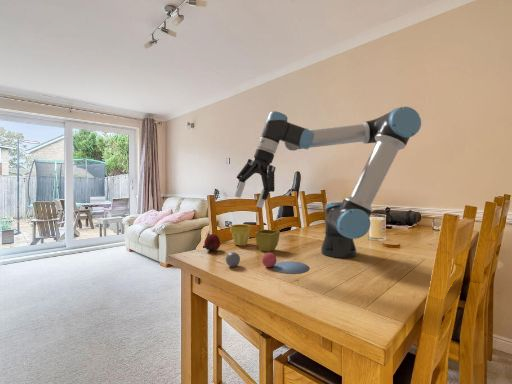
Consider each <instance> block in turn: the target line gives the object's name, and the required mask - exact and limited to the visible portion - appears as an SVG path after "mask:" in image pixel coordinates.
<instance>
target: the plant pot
mask: <svg viewBox="0 0 512 384" xmlns="http://www.w3.org/2000/svg"><path fill="white" fill-rule="evenodd" d="M229 229H230V233H231V236H232V240H233V244H235V245H234V246H236V245H239V246H240V247H243V246H244V247H245V246H247V245H248V242H249V236H250V233H251V225H249V224H243V223H242V224H239V223H237V224H232V225H230V227H229ZM239 246H238V247H239Z"/></svg>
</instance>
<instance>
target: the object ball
mask: <svg viewBox="0 0 512 384" xmlns="http://www.w3.org/2000/svg"><path fill="white" fill-rule="evenodd" d="M261 262H262V264H263V266H265V267H266V268H272V267H273V266H274V265H275V264H276V263H277V257H276V255H275V254H274V253H273V252H266V253H264V254H263V256H262V259H261Z"/></svg>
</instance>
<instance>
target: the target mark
mask: <svg viewBox="0 0 512 384" xmlns="http://www.w3.org/2000/svg"><path fill="white" fill-rule="evenodd" d="M271 268H272V270H274V271H275V272H278V273H280V274H281V273H282V274H289V275H291V274H293V275H294V274H295V275H296V274H297V275H298V274H303V273H306V272H308V271H309V269H310V267H309V265H308V264H305V263H304V262H300V261H294V260H286V261H284V260H281V261H278V262H277V261H276V264H275V265H274V266H273V267H271Z"/></svg>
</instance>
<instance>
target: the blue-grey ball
mask: <svg viewBox="0 0 512 384" xmlns="http://www.w3.org/2000/svg"><path fill="white" fill-rule="evenodd" d="M240 262H241V257H240V255H239V253H237V252H235V251H232V252H229V253H227V255H226V256H225V263H226V264H227V266H229V267H232V268H234V267H237V266H238V265H239V264H240Z"/></svg>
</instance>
